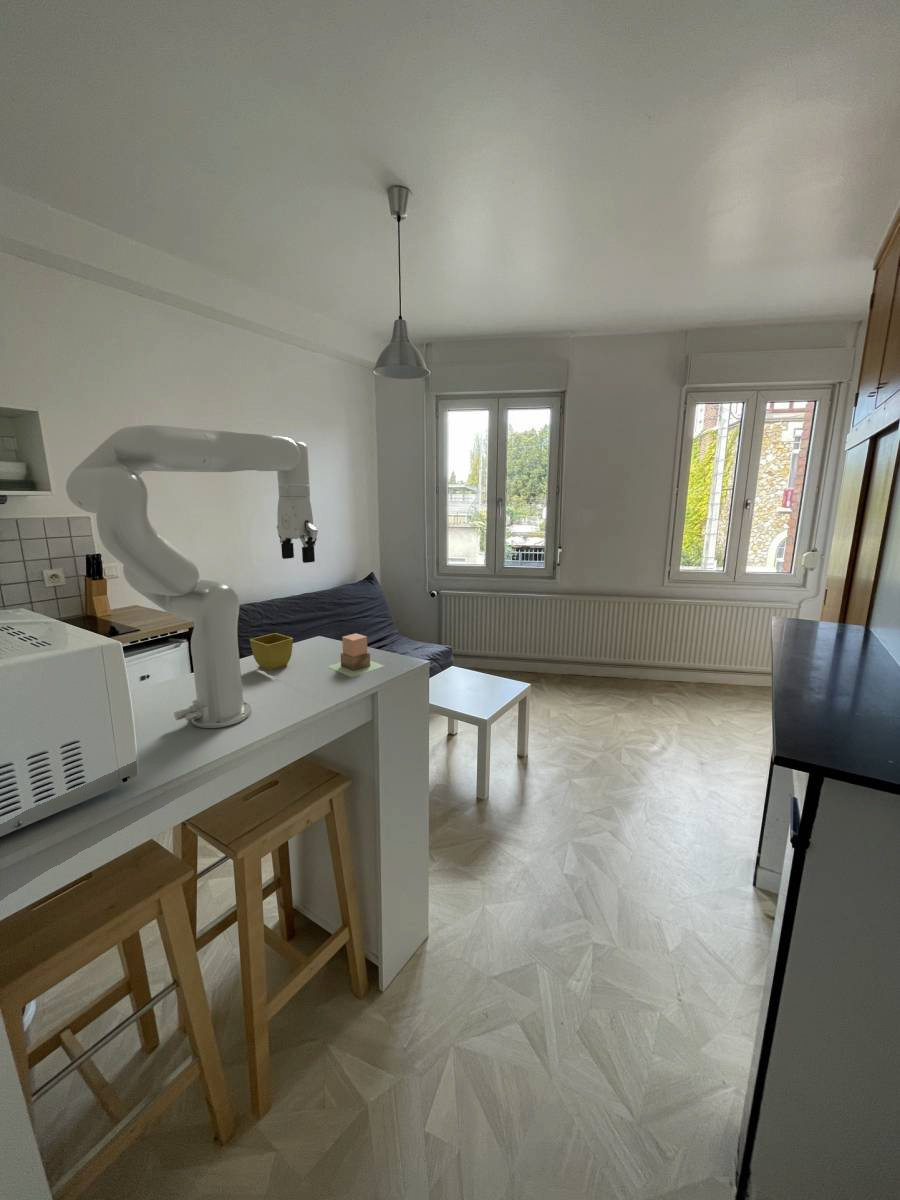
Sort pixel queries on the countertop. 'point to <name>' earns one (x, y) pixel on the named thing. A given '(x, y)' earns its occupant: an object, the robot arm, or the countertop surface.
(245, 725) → the countertop surface
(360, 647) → the cube
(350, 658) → the base block
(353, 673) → the plate
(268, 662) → the flower pot
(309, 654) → the countertop surface
